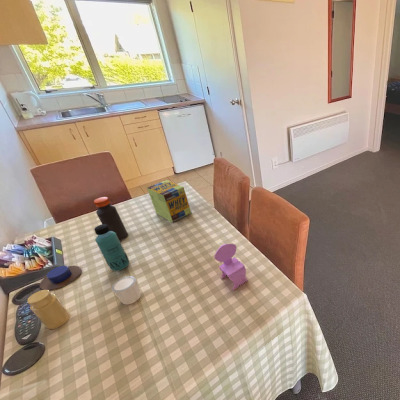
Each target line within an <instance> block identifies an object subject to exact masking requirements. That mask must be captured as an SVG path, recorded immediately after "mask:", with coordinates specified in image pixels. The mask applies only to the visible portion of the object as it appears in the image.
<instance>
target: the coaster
mask: <svg viewBox="0 0 400 400" xmlns="http://www.w3.org/2000/svg"><path fill="white" fill-rule="evenodd" d="M66 266H67V265H66ZM67 267H68V268H69V270H70V271H71V273H72V274H71V276H70V277H69V278H67V279H66V280H64V281H62V282H59V283H51V282H50V280H49V279H48V278H47V275H46V276H44V278H42V279H41V281H40V283H39V288H40V290H49V292H51V291H56V290H59V289H63V288H64V287H67V286H68V285H70V284H72V283H73V282H75V281H76V280H78V278H80V276H81V274H82V272H83V270H82V268H81V267H80V266H79V265H68V266H67Z"/></svg>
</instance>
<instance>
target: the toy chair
mask: <svg viewBox="0 0 400 400" xmlns="http://www.w3.org/2000/svg"><path fill="white" fill-rule="evenodd" d="M236 252H237V245H236V244H235V243H224V244H222V245H220V246H219V248H218V249H217V250H216V252H215V254H214V260H216V261H217V262H218V263H219V262H220V263H223V264H221V265H219V266H218V268H219V271H221V273H222V274H221V277H220V279H221V278H222V279H224V278H226V277H228V278H229V280H230V281H232V283H233V288H232V291H235V290H236V289H238V288H239V287H241V286H242V285H244V284H245V283H247V282H248V279H247V277H246V273H247V269H246V266H245V265H244V263H242V262H241V261H240V260H239V259H238V258H237V257H235V255H236ZM226 275H227V276H226ZM223 277H224V278H223ZM222 279H221V280H222ZM245 281H246V282H245ZM244 282H245V283H244ZM242 283H243V284H242ZM241 284H242V285H241ZM239 285H240V286H239ZM238 286H239V287H238ZM235 288H236V289H235Z"/></svg>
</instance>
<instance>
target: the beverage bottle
mask: <svg viewBox="0 0 400 400" xmlns="http://www.w3.org/2000/svg"><path fill="white" fill-rule="evenodd" d="M94 232H95V235H97V236H96V237H95V241H94V242H95V243H96V245H97V246H98V248H99V251H100V252H101V254H102V257H103V259H104V260H105V262H106V264H107V266H108V268H109V269H110V270H111V271H112V272H118V271H121V270H123V269H125V268H127V267H128V266H129V265H130V259H129V256H128V254H127V253H126V251H125V248H124V247H123V245H122V243H121V241H119V239H118V237H117V235H116V233H115V232H112V231H110V228H109V227H108V225H106V224H102V223H101V224H98V225H97V226H95V227H94Z"/></svg>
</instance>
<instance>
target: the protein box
mask: <svg viewBox="0 0 400 400" xmlns="http://www.w3.org/2000/svg"><path fill="white" fill-rule="evenodd" d="M146 189H147V192H148V195H149V197H150V200H151V203H152V205H153V208H154V211H155V214H156V213H157V214H156V215H158V214H159V215H158V216H160V217H162V218H164V219H165V220H167V221H169V222H171V223H175V222H178V221H179V220H181V219H183V218H185V217H187V216H188V214H189V215H191V214H192V210H191V206H190V203H189V200H188V197H187V193H186V190H185V187H184V186H182V185H180V184H178V183H175V182H173V181H171V180H168V179H166V180H163V181H161V182H158V183H156V184H153V185H152V184H151V185H150V186H148V187H146Z"/></svg>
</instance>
